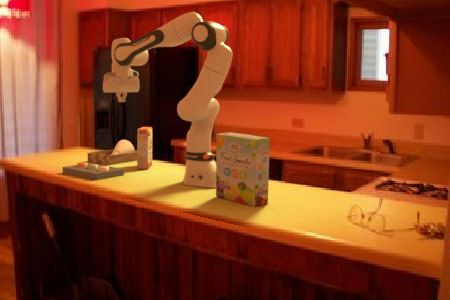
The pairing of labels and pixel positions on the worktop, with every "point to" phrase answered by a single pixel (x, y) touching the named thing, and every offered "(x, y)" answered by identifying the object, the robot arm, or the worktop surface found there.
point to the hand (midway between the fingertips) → (121, 101)
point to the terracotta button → (82, 164)
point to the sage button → (93, 166)
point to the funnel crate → (111, 157)
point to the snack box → (242, 168)
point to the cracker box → (144, 147)
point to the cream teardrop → (123, 147)
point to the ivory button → (103, 168)
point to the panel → (93, 172)
